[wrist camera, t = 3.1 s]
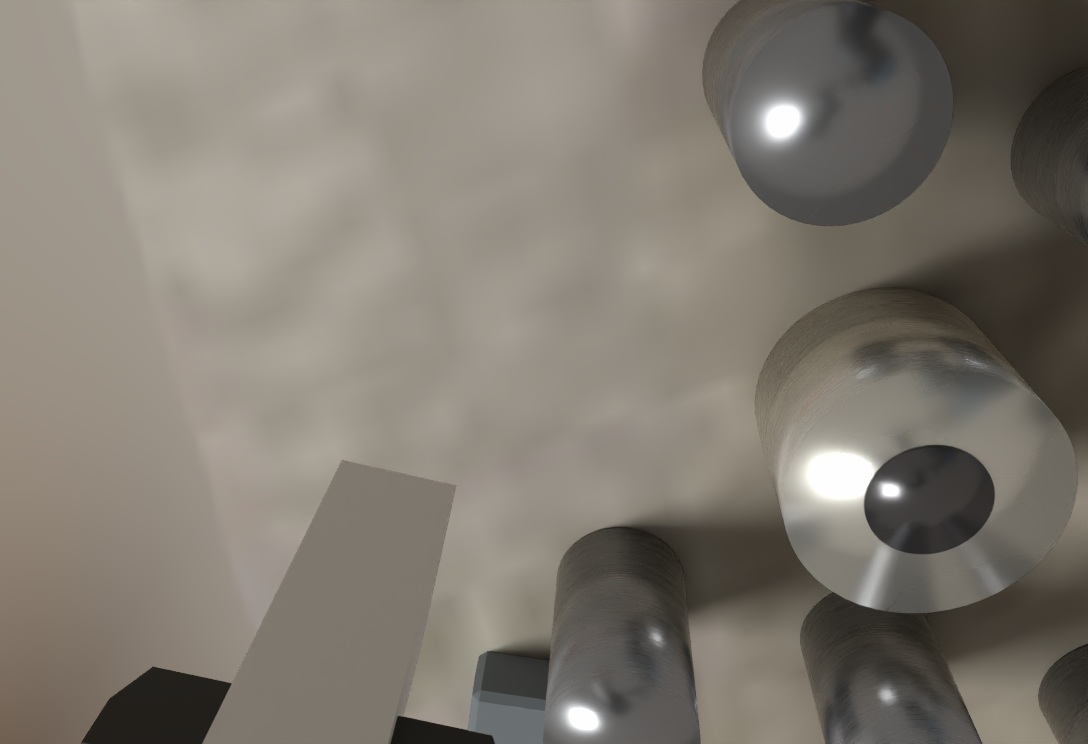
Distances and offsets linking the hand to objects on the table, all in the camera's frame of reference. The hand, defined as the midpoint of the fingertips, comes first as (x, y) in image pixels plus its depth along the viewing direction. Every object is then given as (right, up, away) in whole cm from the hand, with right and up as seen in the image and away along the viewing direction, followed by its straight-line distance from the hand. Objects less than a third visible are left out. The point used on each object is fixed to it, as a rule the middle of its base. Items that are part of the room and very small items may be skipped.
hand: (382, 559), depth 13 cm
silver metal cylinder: (+9, +2, +8) cm, 12 cm away
